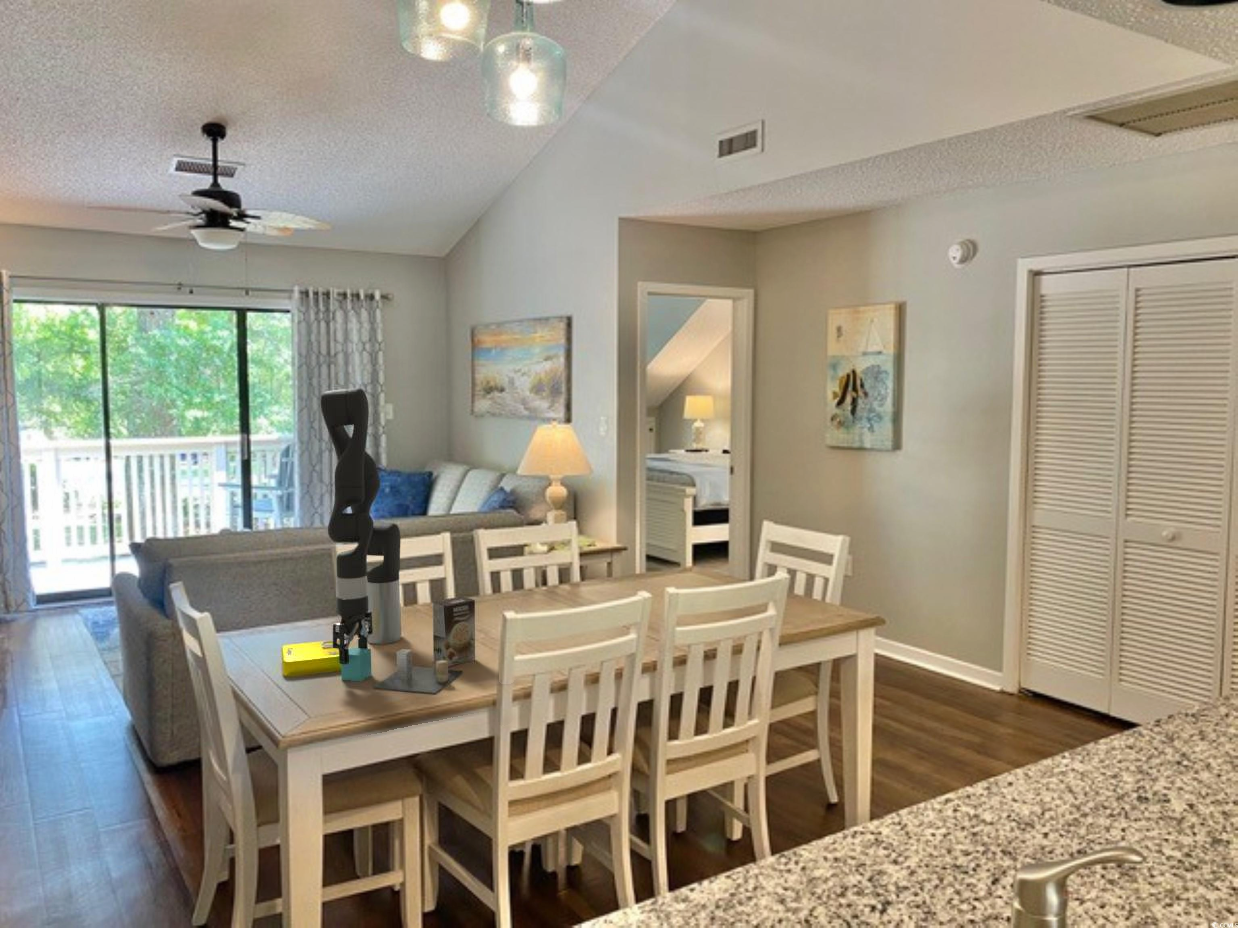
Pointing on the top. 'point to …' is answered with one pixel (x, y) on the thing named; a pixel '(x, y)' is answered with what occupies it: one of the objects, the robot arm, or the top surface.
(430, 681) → the grey square base plate
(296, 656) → the element tile
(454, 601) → the coffee box
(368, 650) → the teal toy cube
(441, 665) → the birch peg
